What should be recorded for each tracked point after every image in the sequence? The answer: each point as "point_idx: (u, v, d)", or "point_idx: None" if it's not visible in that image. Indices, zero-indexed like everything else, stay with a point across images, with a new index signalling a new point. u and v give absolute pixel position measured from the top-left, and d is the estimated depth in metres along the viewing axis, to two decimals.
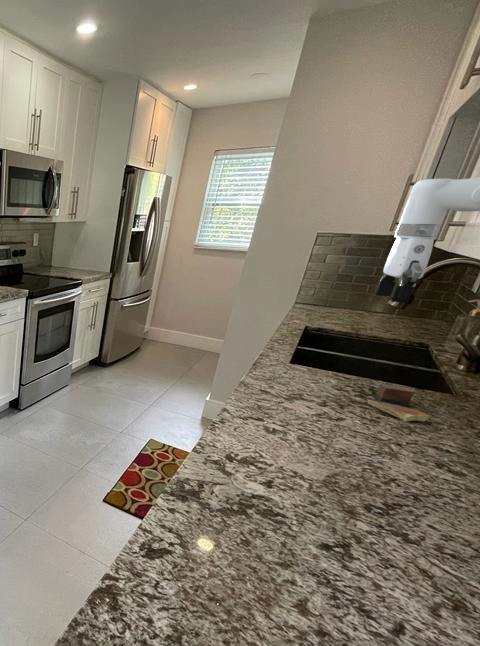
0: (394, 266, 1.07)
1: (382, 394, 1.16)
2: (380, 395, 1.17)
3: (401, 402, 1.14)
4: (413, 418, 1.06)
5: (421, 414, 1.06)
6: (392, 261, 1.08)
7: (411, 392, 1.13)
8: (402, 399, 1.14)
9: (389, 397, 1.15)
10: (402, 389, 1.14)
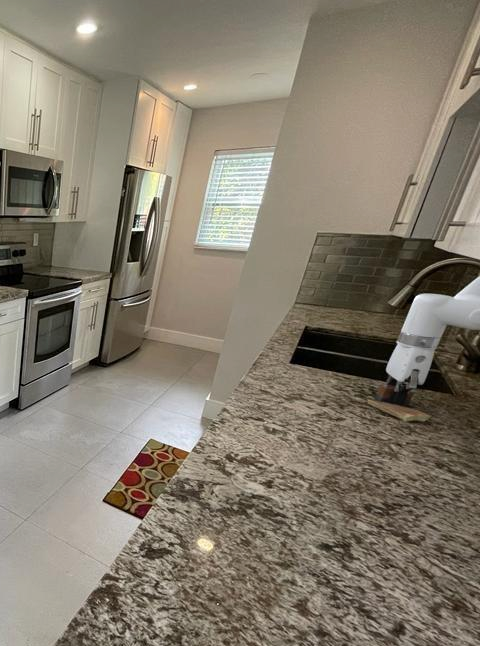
0: (396, 370, 1.13)
1: (382, 394, 1.16)
2: (380, 395, 1.17)
3: None
4: (413, 418, 1.06)
5: (421, 414, 1.06)
6: (394, 364, 1.14)
7: (411, 392, 1.13)
8: None
9: None
10: None
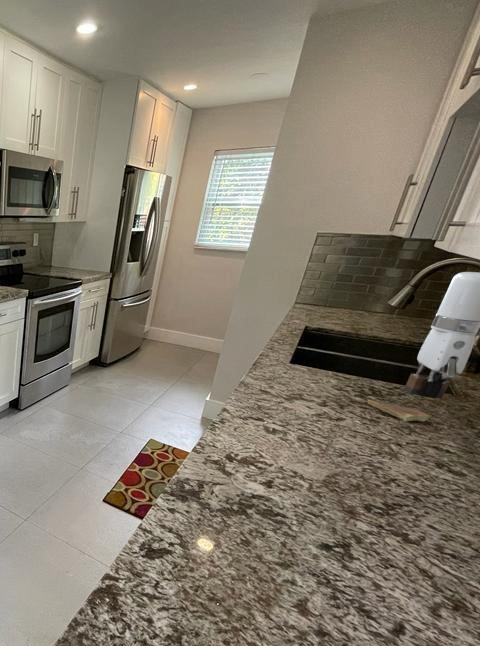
0: (430, 358, 1.01)
1: (413, 385, 1.05)
2: (410, 386, 1.06)
3: None
4: (413, 418, 1.06)
5: (421, 414, 1.06)
6: (428, 352, 1.03)
7: (446, 382, 1.02)
8: None
9: None
10: None
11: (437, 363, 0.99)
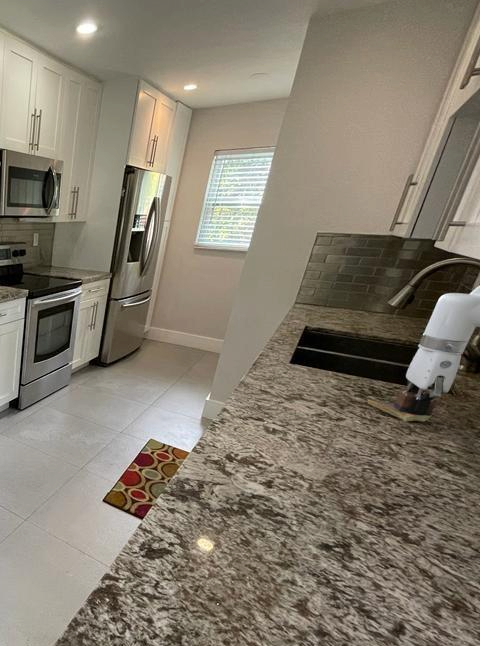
0: (418, 376, 1.04)
1: (402, 402, 1.07)
2: (399, 403, 1.08)
3: None
4: (413, 418, 1.06)
5: None
6: (416, 370, 1.05)
7: (434, 400, 1.04)
8: None
9: (409, 405, 1.06)
10: None
11: (424, 382, 1.01)
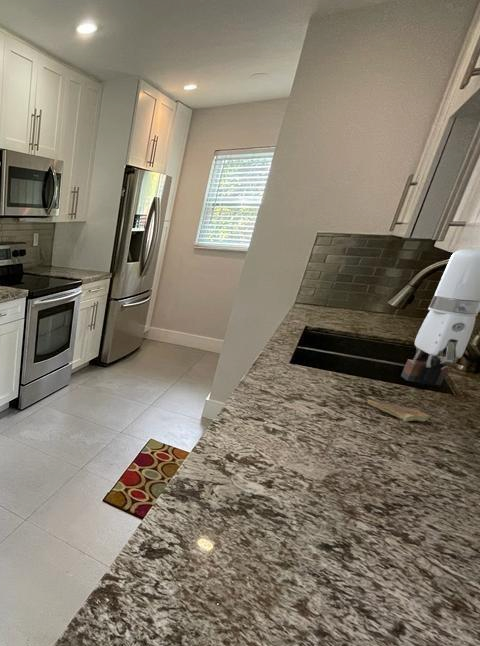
0: (428, 342, 0.95)
1: (410, 371, 0.98)
2: (407, 372, 0.99)
3: None
4: (413, 418, 1.06)
5: (421, 414, 1.06)
6: (425, 335, 0.96)
7: (445, 368, 0.95)
8: None
9: (418, 374, 0.98)
10: None
11: (435, 347, 0.93)
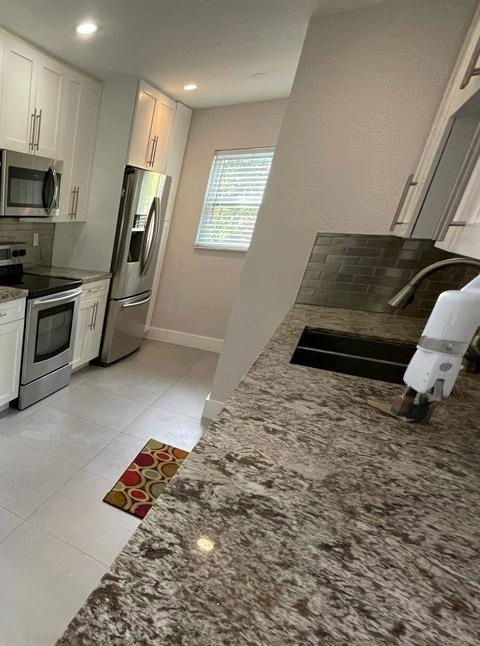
0: (416, 379, 0.97)
1: (399, 407, 1.00)
2: (396, 408, 1.01)
3: None
4: None
5: None
6: (414, 373, 0.98)
7: (433, 405, 0.97)
8: None
9: (407, 410, 0.99)
10: None
11: (423, 385, 0.95)
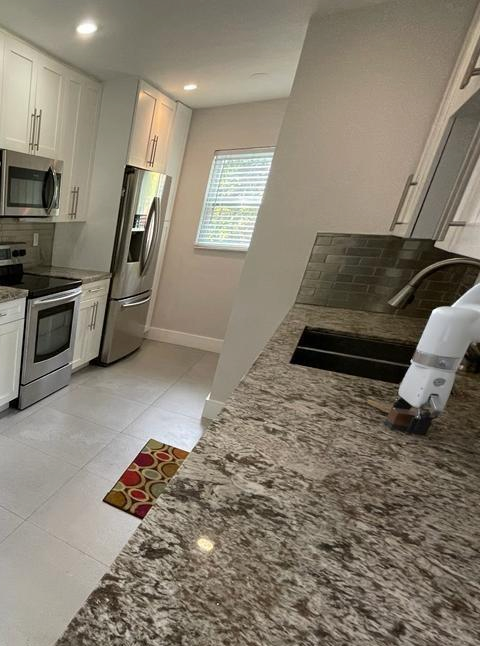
0: (411, 394, 0.98)
1: (393, 419, 1.01)
2: (391, 420, 1.02)
3: None
4: None
5: None
6: (408, 387, 0.99)
7: None
8: None
9: (401, 423, 1.01)
10: None
11: (417, 400, 0.96)
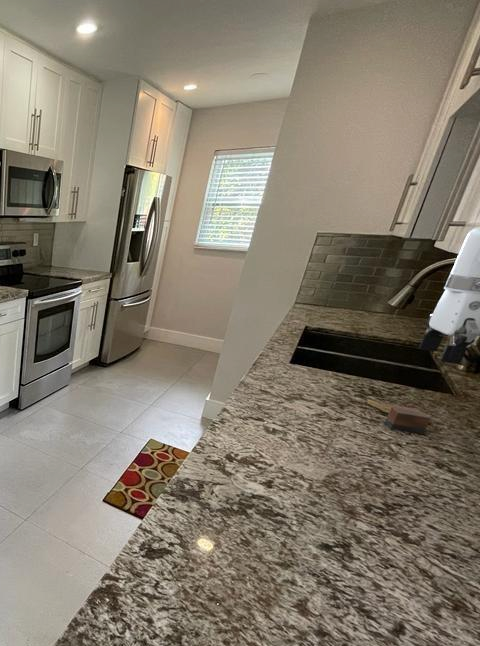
0: (444, 322, 0.95)
1: (393, 419, 1.01)
2: (391, 420, 1.02)
3: (415, 429, 1.00)
4: None
5: None
6: (441, 315, 0.96)
7: (427, 418, 0.98)
8: (416, 426, 1.00)
9: (401, 423, 1.01)
10: (417, 415, 0.99)
11: (451, 326, 0.92)
